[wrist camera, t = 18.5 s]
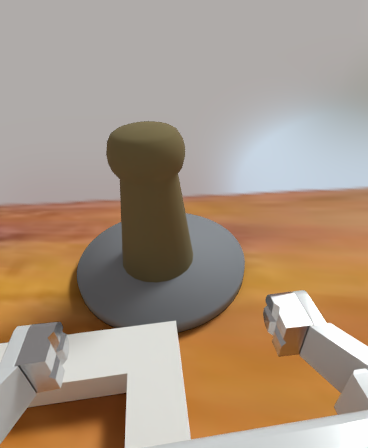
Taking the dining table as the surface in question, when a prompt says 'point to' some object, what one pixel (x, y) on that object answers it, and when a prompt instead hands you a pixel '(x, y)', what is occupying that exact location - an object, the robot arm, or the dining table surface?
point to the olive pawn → (151, 200)
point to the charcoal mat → (167, 290)
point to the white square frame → (129, 379)
